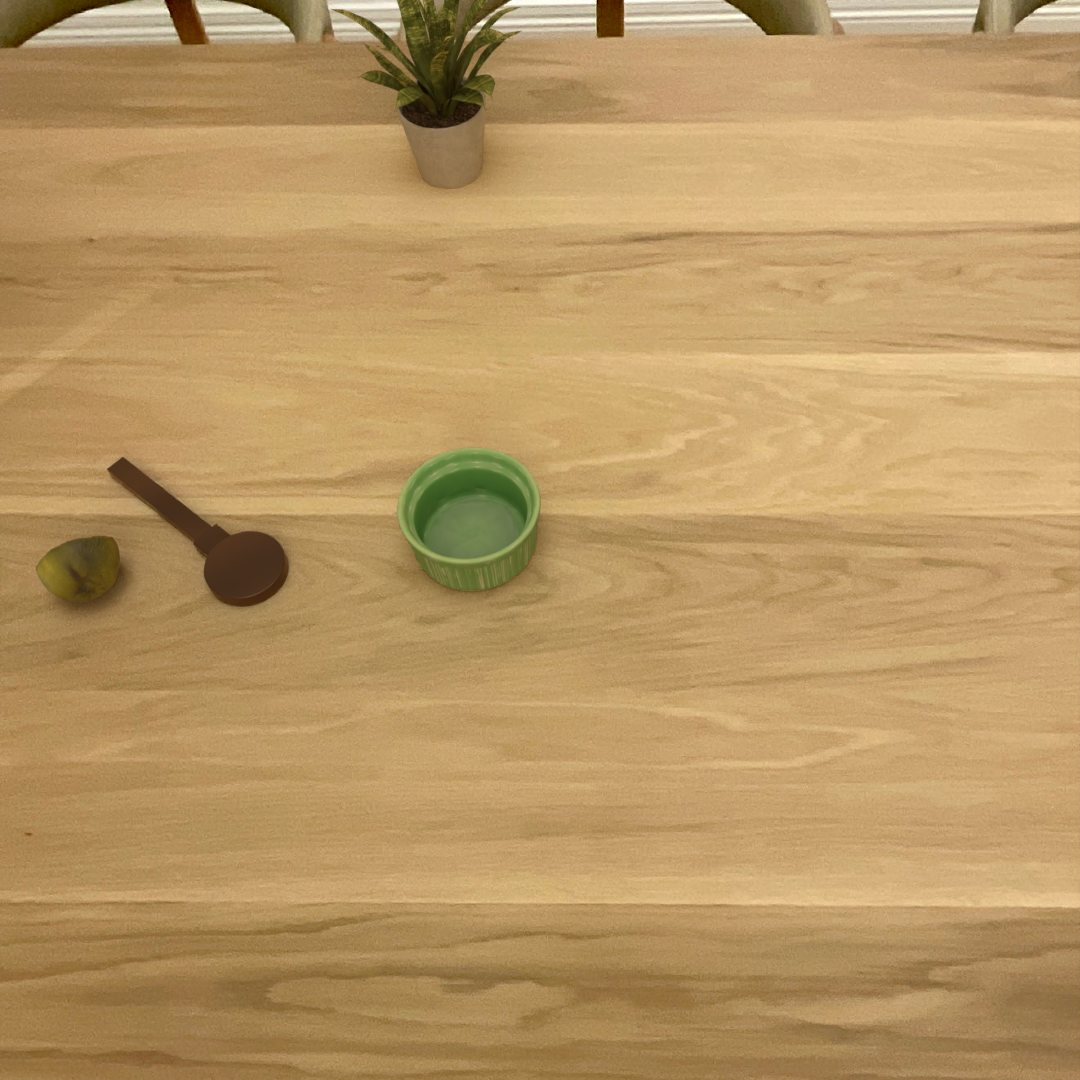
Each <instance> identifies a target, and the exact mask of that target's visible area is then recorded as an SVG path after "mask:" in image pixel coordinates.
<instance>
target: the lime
mask: <svg viewBox="0 0 1080 1080" xmlns="http://www.w3.org/2000/svg"><path fill="white" fill-rule="evenodd" d="M119 548H120V547H119V545H118V543H117V541H116V539H114V537H113V536H108V535H92V536H88V537H81V538H80V537H79V538H74V539H71V540H67V541H65V542H61V544H59V545H57V546H55V547H53V548H51V549H49V551H47V552H46V553H45V555H44V556H43V557H42V558H41V559H40V560H39V561H38V562H37V564H36V566H35V572H36V574H37V577H38V578H39V579H38V580H40V582H41V584H42V585H43V586H44V587H45V589H46V590H47V591H48V592H50V593H51V594H52V595H53V596H55V597H58V598H60V599H63V600H65V601H68V602H73V603H85V602H90V601H93V600H96V599H97V598H99V597H101V596H103V595H104V594H105V593H107V592H108V591H110V589H112V587H113V586H114V584H115V583H116V581H117V580H118V577H119V573H120V568H121V567H120V566H121V556H120V555H121V554H120V553H121V552H120V549H119Z"/></svg>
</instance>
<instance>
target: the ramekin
mask: <svg viewBox="0 0 1080 1080" xmlns="http://www.w3.org/2000/svg"><path fill="white" fill-rule="evenodd" d="M541 500H542V499H541V492H540V489H539V485H538V483H537V480H536V479H535V477H534V475H533V474H532V473H531V471H530V470H529V469H528V467H527V466H525V465H524V464H523V463H522V462H521V461H519V459H517V458H515V457H513V456H511V455H510V454H508V453H506V452H503V451H500V450H496V449H492V448H485V447H479V446H478V447H477V446H476V447H473V446H472V447H462V448H460V447H459V448H456V449H455V448H454V449H451V450H447V451H445V452H441V453H439V454H437V455H434V456H433V457H431V458H429V459H428V460H426V461H425V462H423V463H422V464H421V465H419V466H418V468H416V469H415V470H414V471H413V472H412V473H411V475H409V477H408V478H407V480H406V481H405V483H404V485H403V486H402V488H401V491H400V493H399V496H398V500H397V506H396V514H397V515H396V516H397V523H398V525H399V528H400V531H401V533H402V535H403V537H404V538H405V540H406V541H407V543H408V544H409V545H410V547H411V549H412V551H413V554H414V556H415V559H416V561H417V563H418V564H419V566H420V567H421V569H422V570H423V571H424V572H425V574H426V575H427V576H429V577H430V578H431V579H432V580H433V581H435V582H436V583H438V584H440V585H442V586H444V587H447V588H449V589H453V590H455V591H463V592H480V591H481V592H482V591H486V590H490V589H493V588H497V587H499V586H501V585H504V584H505V583H507V582H509V581H511V580H512V579H514V578H515V577H516V576H518V575H519V574H520V573H521V572H523V570H524V569H525V568H526V567H527V566H528V564H529V563H530V561H531V559H532V557H533V556H534V553H535V549H536V546H537V541H538V522H539V518H540V514H541V505H542V504H541V503H542V501H541Z"/></svg>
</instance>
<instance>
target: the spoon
mask: <svg viewBox="0 0 1080 1080" xmlns="http://www.w3.org/2000/svg"><path fill="white" fill-rule="evenodd" d="M106 471H107V472H108V474H109V475H110V477H112V478H113V479H114V480H115V481H117V482H118V483H119V484H120V485H122V486H123V487H124V488H125V489H127V490H128V491H129V492H130V493H131V494H133V495H134V496H135V497H136V498H138V499H139V500H140V501H142V502H143V503H144V504H145V505H147V506H148V507H149V508H150V509H152V511H154V512H155V513H157V514H158V515H159V516H160V517H162V518H163V519H164V520H165V521H167V522H168V523H169V524H170V525H172V526H173V527H174V528H176V529H177V531H179V532H180V533H182V534H183V535H184V536H185V537H186V538H187V539H189V540H190V541H192V542H193V543H192V544H193V546H194V548H195V549H196V551H197V552H198V553H200V554H201V555H202V556H203V557H205V558H206V559H205V561H204V564H203V577H204V581H205V583H206V585H207V586H208V588H209V590H210V592H211V593H212V595H213V596H214V597H215V598H216V599H217V600H219V601H220V602H222V603H224V604H226V605H230V606H234V607H249V606H253V605H257V604H261V603H262V602H265V601H266V600H268V599H270V598H271V597H272V596H274V595H275V594H276V593H278V591H279V590H280V589H281V588H282V586H283V585H284V583H285V581H286V579H287V576H288V572H289V560H288V558H287V555H286V552H285V551H284V548H283V546H282V545H281V543H280V542H279V541H278V540H277V538H274V537H273V536H272V535H270V534H268V533H265V532H263V531H255V530H249V531H247V530H246V531H240V532H236V533H234V534H230V533H229V532H227V531H226V530H225V529H223V528H222V526H220V525H218V524H217V523H215V524H214V525H213V526H212V525H211V524H210V523H208V522H207V521H205V520H204V518H202V517H200V516H199V515H198V514H196V512H194V511H193V510H192V509H190V508H189V507H188V506H187V505H185V504H184V503H183V502H182V501H180V500H179V499H178V498H176V497H175V496H174V495H173V494H171V492H169V491H168V490H166V489H165V488H164V487H162V486H161V485H160V484H159V483H157V482H156V481H155V480H153V479H152V478H151V477H150V476H148V475H147V474H146V473H145V472H143V471H142V470H141V469H139V468H138V467H137V466H135V465H134V464H133V463H132V462H131V461H129V460H128V459H126V458H125V457H124V456H121V457H120V458H119V459H118V460H117V461H115V462H114V463H112V464H111V465H110V466H109V467H108V468H107V469H106Z"/></svg>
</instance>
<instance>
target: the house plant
mask: <svg viewBox="0 0 1080 1080" xmlns="http://www.w3.org/2000/svg"><path fill="white" fill-rule="evenodd" d="M489 1H490V0H474V1H473V2H472V4H471V5H470V7H469V9H468V10H467V12H466V13H465V16H464V20H463V23H462V25H461V27H460V30H459V32H458V34H457V36H456V25H457V18H458V13H459V12H458V11H459V6H460V0H444V1H443V4H442V6H441V7H440V9H439V11H438V12H437V7H436V4H435V3H436V2H435V0H422V1H421V0H396V2H397V6H398V9H399V12H400V16H401V20H402V21H401V22H402V24H403V28H404V33H405V34H404V35H405V41H406V45H407V48H408V52H409V56H410V57H411V59H412V61H411V60H410V59H409V58H408V56H407V55H405V54H404V52H403V51H402V49H401V48H400V47H399V46H398V45H397V43H396V42H395V41H394V40H393V39H392V38H391V37H390V36H389V35H388V34H387V33H386V32H385V31H384V30H383V29H381V28H380V26H378V25H376V24H375V22H373V21H371V20H370V19H368V18H366V17H364V16H361V15H358V14H356V13H354V12H351V11H349V10H347V9H342V8H331V11H334V12H335V13H338V14H341V15H343V16H345V17H347V18H349V19H350V20H352V21H354V22H356V23H357V24H359V25H360V26H361V27H362V28H363V29H365V30H366V31H368V32H369V33H370V34H371V35H373V36H374V37H375V39H377V40H378V41H379V42H380V43H381V44H382V45H376V48H378V49H380V50H382V51H384V52H388V53H390V54H391V55H392V56H393V57H394V58H396V59H397V60H398V61H399V63H401V64H402V65H403V66H404V67H405V69H406V70H407V71H408V72H409V73H410V74H411V75H412V76H413V77H414V78H415V79H416V80H415V81H414V80H413V79H412V78H410V77H409V76H408V75H407V74H406V73H405V72H404V71H403V70H402V69H400V68H399V67H398V66H397V65H395V64H394V63H393V62H392V61H391V60H390V59H388V57H386V56H385V55H384V54H382V53H381V52H380V51H379V50H378V49H376V48H375V47H373V46H371V45H368V44H367V43H363V45H364V46H365V48H366V50H368V51H369V52H370V53H371V54H372V55H373V57H374V58H375V60H376V61H377V63H378V64H379V66H381V68H382V69H384V70H385V71H384V70H379V69H377V70H376V69H375V70H374V69H373V70H370V71H366V72H364V73H362V74H360V75H359V76H357V79H360V78H361V79H363V80H365V81H367V82H370V83H373V84H377V85H380V86H383V87H386V88H388V89H391V90H394V91H396V92H397V96H396V102H395V107H394V109H393V110H394V111H393V112H396V113H397V115H398V118H399V120H400V123H401V125H402V129H403V131H404V133H405V136H406V139H407V140H408V144H409V147H410V149H411V153H412V154H413V157H414V160H415V162H416V165H417V168H418V170H419V172H420V175H421V178H422V179H423V180H424V181H425V183H427V184H429V185H430V186H432V187H436V188H441V189H458V188H462V187H465V186H468V185H470V184H471V183H473V182H474V181H476V179H478V178H479V176H480V175H481V173H482V170H483V161H484V148H485V147H484V145H485V127H486V112H487V95H488V96H489V97H490V99H491V100H493V94H494V90H495V86H496V81H495V79H494V77H493V76H492V75H491V74H487V73H484V74H479V75H478V72H479V71H480V69H481V68H482V66H483V65H484V64H485V63H486V61H487V60H488V59H489V57H490V56H491V55H492V53H494V52H495V51H496V50H497V48H499V47H500V46H501V45H502V44H503V43H506V40H508V39H509V40H511V38H510V37H514V36H516V35H518V34H520V33H521V32H522V30H516V31H509V32H507V33H503V32H501V31H499V30H497V29H493V28H492V27H493V25H495V24H496V23H497V22H498V21H499V20H500V19H501V18H502V17H503V16H504V15H506V14H508V13H511V12H513V11H516V10H518V9H520V8H521V6H513V7H507V8H504V9H501V10H499V11H497V12H495V13H493V15H492V16H490V18H488V19H487V21H486V22H485V23H484V24H483V25H482V27H481V28H480V30H479V31H477V33H475V34H474V36H473V37H472V39H471V40H470V41H469V42H468V43H467V45H465V47H464V48H463V46H464V43H465V41H466V38H467V35H468V33H469V31H470V29H471V27H472V25H473V23H474V21H475V20H476V18H477V16H478V14H480V12H481V10H482V9H483V8H484V6H485V5H486V4H487V3H488V2H489ZM422 2H423V3H422ZM455 36H456V37H455ZM455 38H456V39H455ZM485 46H487V47H485ZM483 47H485V49H484V50H483V51H482V52H481V54H480V55H479V57H478V59H477V61H476V62H475V64H474V66H473V67H472V69H471V71H470V72H469V74H468V76H467V77H465V74H466V72H467V70H468V68H469V66H470V63H471V62H472V59H473V57H474V55H475V54H476V53H477V52H478V51H479V50H480V49H481V48H483ZM462 48H463V49H462Z"/></svg>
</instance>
